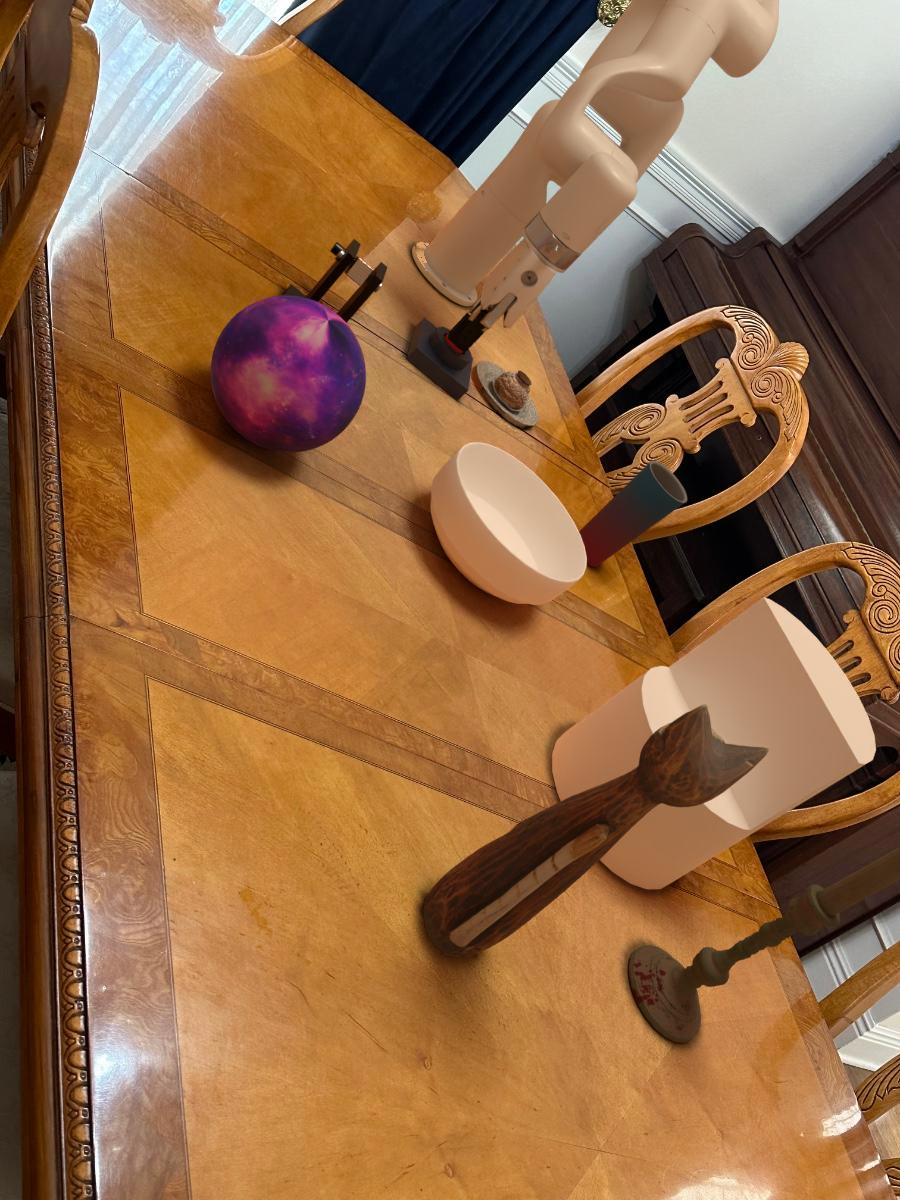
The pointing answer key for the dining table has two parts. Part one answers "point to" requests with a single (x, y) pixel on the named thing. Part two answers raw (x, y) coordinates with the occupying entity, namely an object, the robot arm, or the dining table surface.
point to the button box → (440, 358)
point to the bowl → (505, 527)
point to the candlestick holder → (742, 950)
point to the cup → (632, 512)
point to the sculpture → (577, 835)
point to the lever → (354, 267)
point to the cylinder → (724, 738)
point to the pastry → (508, 393)
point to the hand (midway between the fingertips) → (456, 342)
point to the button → (453, 345)
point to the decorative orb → (288, 374)
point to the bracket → (335, 272)
